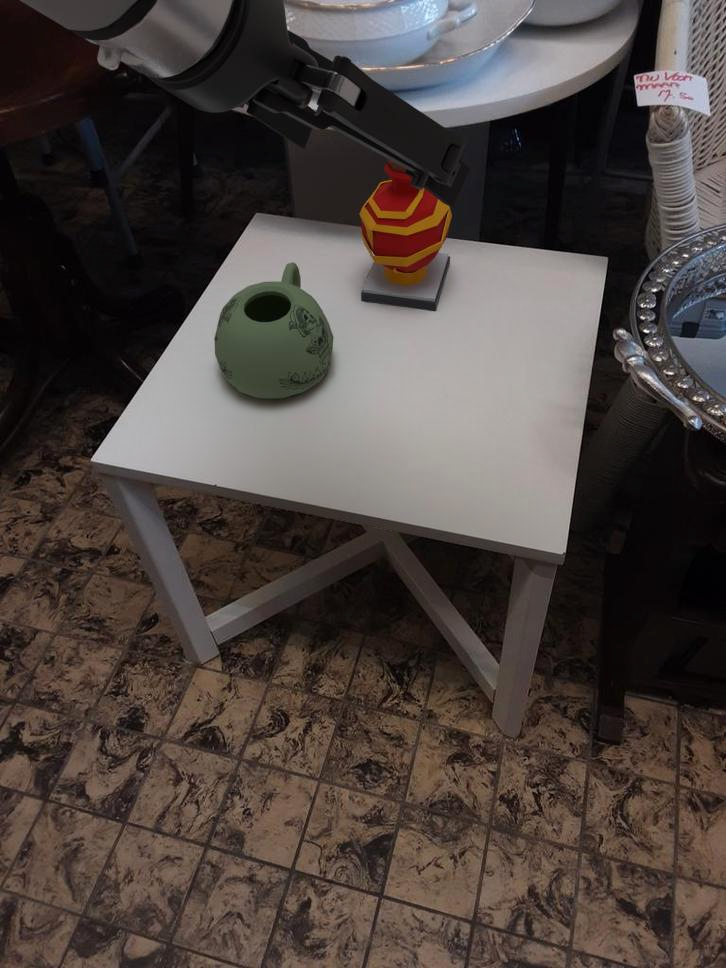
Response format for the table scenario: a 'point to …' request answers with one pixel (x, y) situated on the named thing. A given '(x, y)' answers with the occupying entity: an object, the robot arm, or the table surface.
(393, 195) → the potion bottle
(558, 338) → the table surface
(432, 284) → the scale
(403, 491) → the table surface
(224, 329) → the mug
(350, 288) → the table surface
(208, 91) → the robot arm
